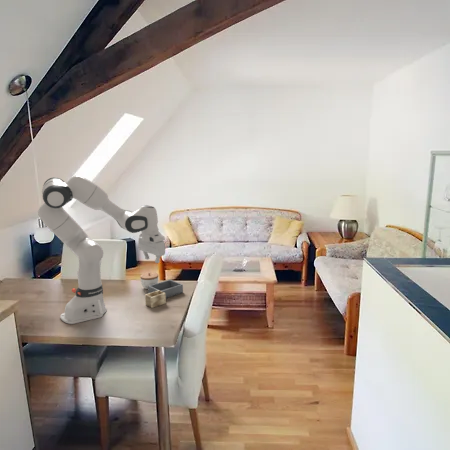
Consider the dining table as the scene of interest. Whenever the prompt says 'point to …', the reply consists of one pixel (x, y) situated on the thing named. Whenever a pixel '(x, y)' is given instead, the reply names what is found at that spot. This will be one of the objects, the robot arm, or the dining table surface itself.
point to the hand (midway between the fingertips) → (152, 260)
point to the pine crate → (155, 299)
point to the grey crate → (167, 288)
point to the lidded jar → (149, 279)
